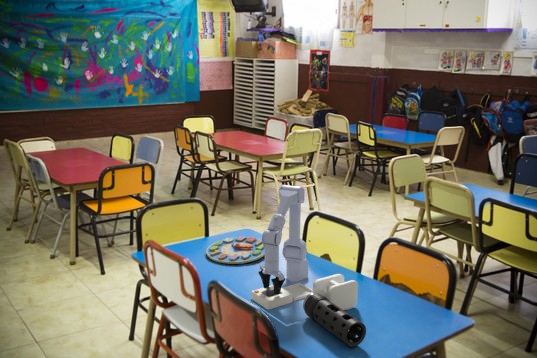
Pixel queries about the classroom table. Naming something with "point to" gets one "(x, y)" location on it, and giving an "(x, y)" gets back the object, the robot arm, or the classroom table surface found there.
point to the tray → (298, 291)
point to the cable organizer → (337, 290)
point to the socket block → (271, 298)
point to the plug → (270, 291)
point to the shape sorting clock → (236, 250)
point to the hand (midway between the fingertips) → (271, 291)
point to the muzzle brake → (334, 319)
